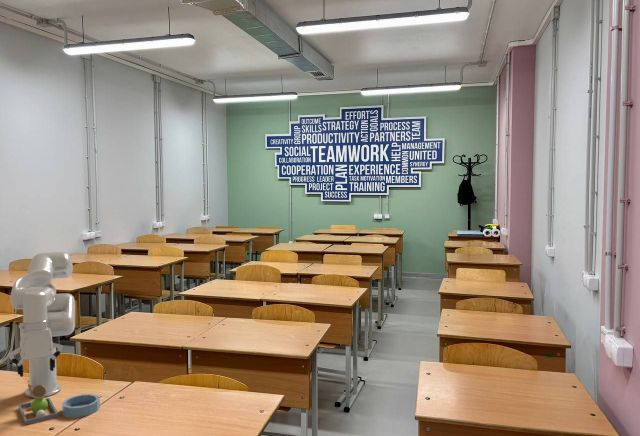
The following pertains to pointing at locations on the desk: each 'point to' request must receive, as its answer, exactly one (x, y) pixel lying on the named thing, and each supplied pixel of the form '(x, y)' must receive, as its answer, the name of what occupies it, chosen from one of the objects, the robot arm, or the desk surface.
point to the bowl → (80, 405)
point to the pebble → (40, 413)
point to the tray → (37, 417)
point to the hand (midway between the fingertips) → (36, 372)
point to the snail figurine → (38, 398)
